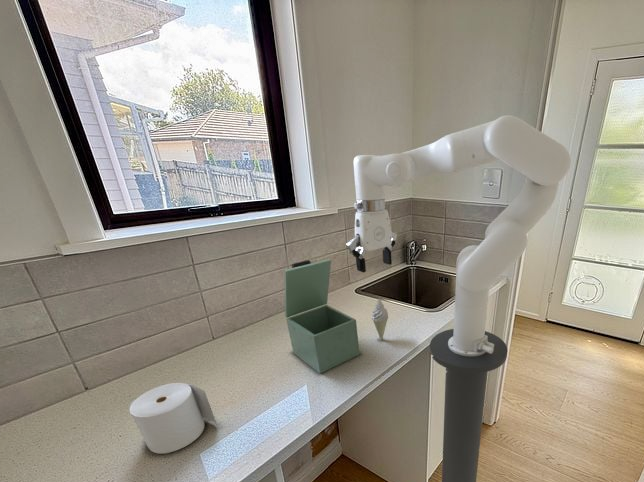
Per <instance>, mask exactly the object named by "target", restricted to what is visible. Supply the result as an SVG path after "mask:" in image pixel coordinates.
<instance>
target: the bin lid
mask: <svg viewBox="0 0 644 482" xmlns="http://www.w3.org/2000/svg"><path fill="white" fill-rule="evenodd" d="M331 264H332V260H331V259H330V258H327V259H324V260H319V261H315V262H311V260H309V259H307V260H302V261H299V262H298V261H297V262H293V263H292V264H291V268H288V269H284V313H285V314H284V316H285V319H286V318H289V317H292V316H295V315H298V314H301V313H304V312H307V311H310V310H313V309H315V308H318V307H321V306H324V305H328V297H329V286H330V278H331V277H330V276H331Z"/></svg>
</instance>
